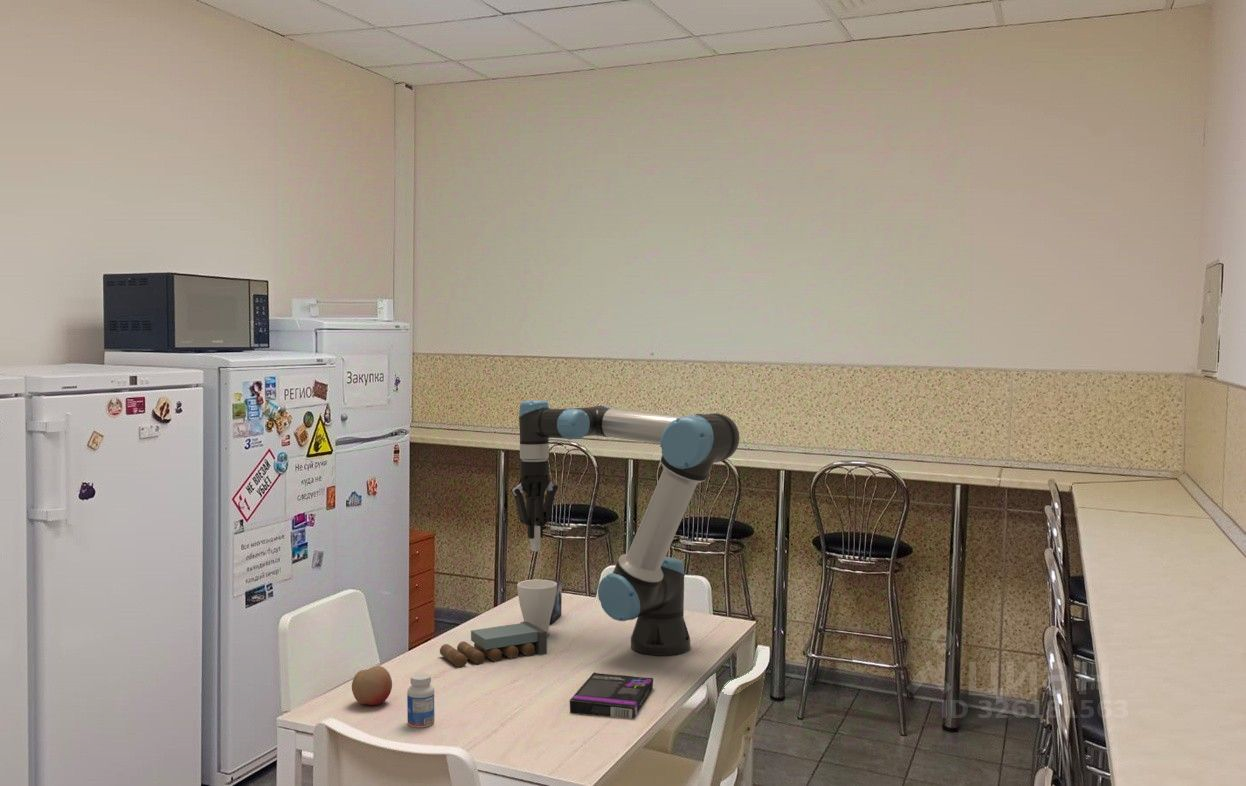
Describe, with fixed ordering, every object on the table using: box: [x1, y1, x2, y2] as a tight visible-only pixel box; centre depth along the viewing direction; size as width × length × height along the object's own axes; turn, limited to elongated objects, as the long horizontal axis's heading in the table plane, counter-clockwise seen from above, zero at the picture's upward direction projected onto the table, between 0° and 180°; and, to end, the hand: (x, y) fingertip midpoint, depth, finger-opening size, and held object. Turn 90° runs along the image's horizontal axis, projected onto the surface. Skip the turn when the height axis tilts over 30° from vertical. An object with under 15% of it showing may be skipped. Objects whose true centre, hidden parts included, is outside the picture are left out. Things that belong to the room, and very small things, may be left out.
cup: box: [516, 579, 557, 636], centre depth 273 cm, size 10×10×14 cm
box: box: [569, 672, 654, 720], centre depth 223 cm, size 14×4×20 cm
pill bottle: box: [406, 672, 436, 729], centre depth 209 cm, size 6×5×10 cm
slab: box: [470, 623, 538, 650], centre depth 257 cm, size 9×14×2 cm, turn 121°
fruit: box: [351, 665, 393, 707], centre depth 220 cm, size 8×8×8 cm
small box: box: [540, 577, 563, 626], centre depth 288 cm, size 11×6×10 cm, turn 168°
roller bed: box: [439, 641, 536, 668], centre depth 254 cm, size 10×21×3 cm, turn 121°
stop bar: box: [520, 621, 548, 656], centre depth 261 cm, size 11×2×6 cm, turn 31°
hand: (535, 550), depth 268 cm, fingers closed
